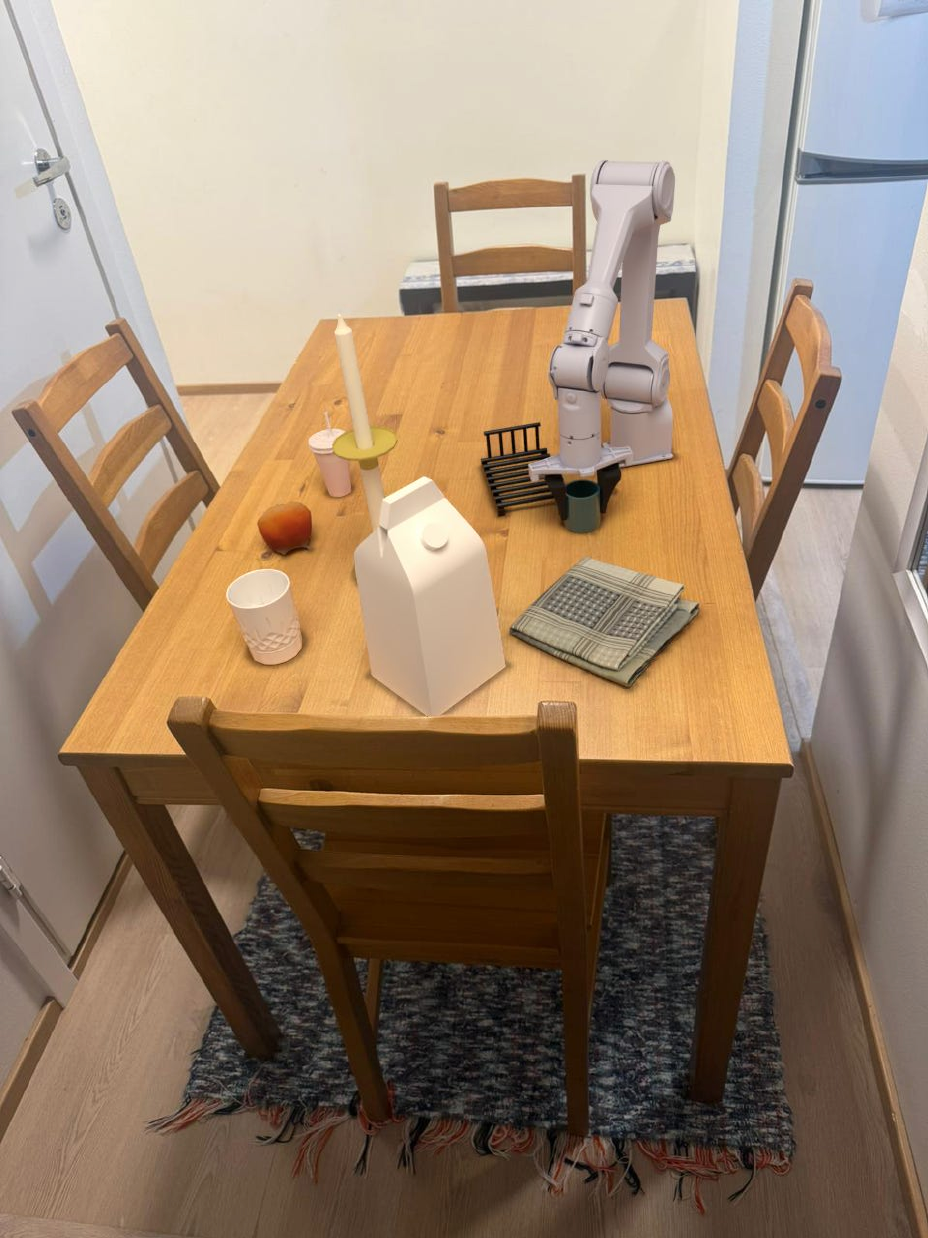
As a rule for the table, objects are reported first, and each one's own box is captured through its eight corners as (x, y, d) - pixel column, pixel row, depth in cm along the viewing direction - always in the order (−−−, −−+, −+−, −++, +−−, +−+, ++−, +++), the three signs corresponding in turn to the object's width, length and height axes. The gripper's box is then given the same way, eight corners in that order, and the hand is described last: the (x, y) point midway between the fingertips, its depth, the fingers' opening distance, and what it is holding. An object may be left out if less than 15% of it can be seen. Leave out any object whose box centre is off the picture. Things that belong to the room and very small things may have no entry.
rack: (546, 456, 145) (545, 419, 141) (569, 504, 133) (568, 465, 129) (481, 468, 144) (477, 431, 140) (498, 516, 133) (494, 477, 129)
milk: (443, 627, 114) (415, 450, 98) (505, 666, 107) (487, 482, 91) (371, 675, 108) (329, 496, 92) (432, 720, 101) (398, 535, 85)
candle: (435, 554, 127) (396, 295, 103) (404, 596, 120) (354, 329, 96) (375, 544, 131) (324, 291, 107) (341, 583, 124) (279, 323, 100)
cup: (594, 510, 131) (594, 476, 128) (604, 529, 127) (604, 495, 124) (560, 516, 131) (559, 482, 127) (569, 535, 127) (568, 501, 123)
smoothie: (352, 502, 140) (335, 422, 131) (315, 501, 142) (295, 422, 133) (364, 480, 145) (348, 403, 136) (327, 480, 147) (309, 403, 138)
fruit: (276, 563, 127) (255, 511, 125) (268, 563, 134) (249, 514, 133) (328, 544, 129) (308, 492, 128) (318, 545, 137) (299, 496, 135)
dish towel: (504, 636, 111) (503, 617, 109) (583, 565, 121) (583, 546, 119) (631, 694, 101) (632, 674, 99) (706, 611, 111) (708, 591, 109)
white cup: (250, 632, 118) (230, 573, 111) (308, 624, 117) (291, 564, 111) (244, 672, 111) (222, 612, 105) (305, 664, 111) (287, 603, 105)
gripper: (534, 452, 116) (539, 537, 125) (640, 434, 117) (638, 519, 126) (523, 428, 121) (528, 511, 130) (625, 411, 122) (623, 494, 131)
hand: (581, 513), depth 128 cm, fingers closed on cup, 5 cm apart
